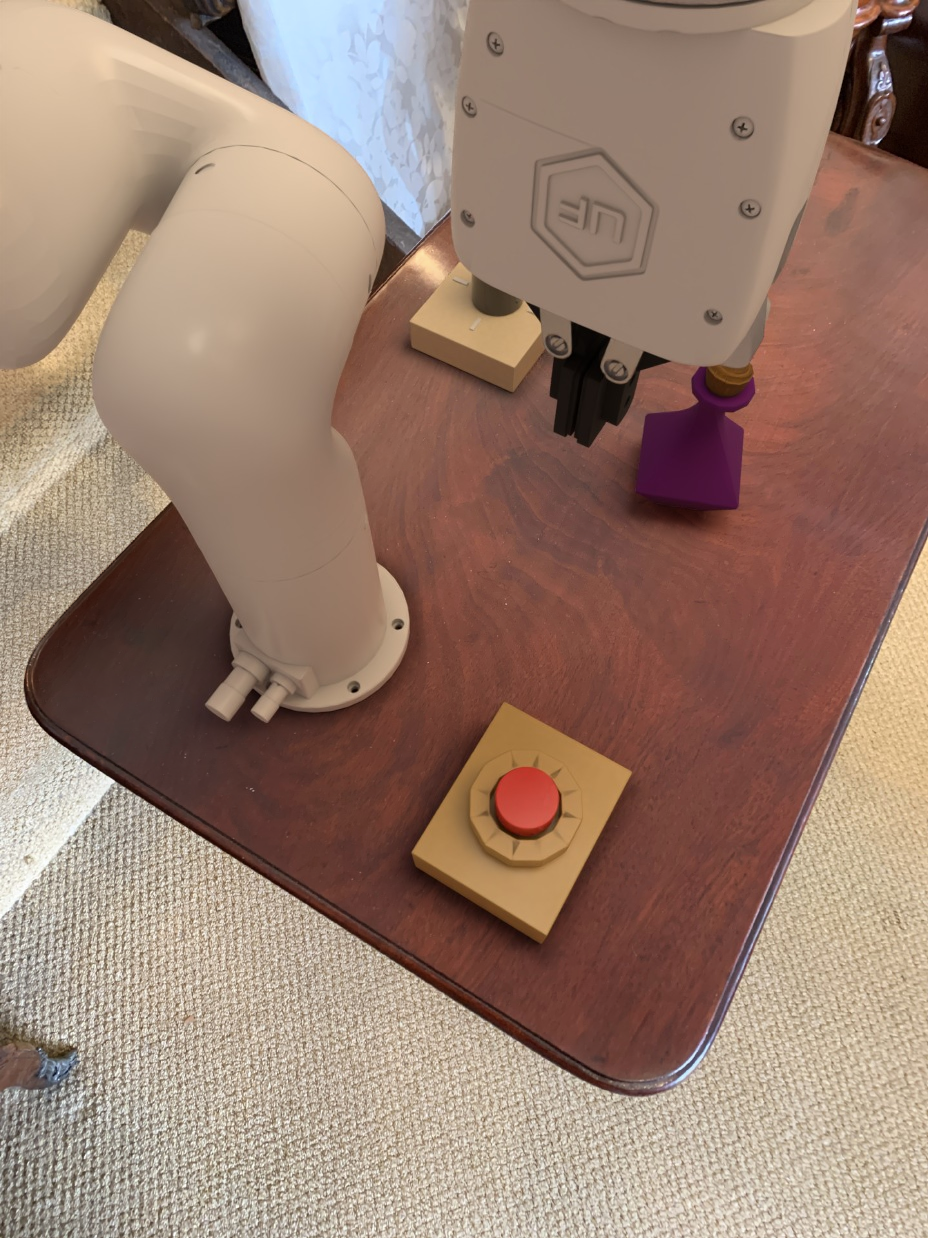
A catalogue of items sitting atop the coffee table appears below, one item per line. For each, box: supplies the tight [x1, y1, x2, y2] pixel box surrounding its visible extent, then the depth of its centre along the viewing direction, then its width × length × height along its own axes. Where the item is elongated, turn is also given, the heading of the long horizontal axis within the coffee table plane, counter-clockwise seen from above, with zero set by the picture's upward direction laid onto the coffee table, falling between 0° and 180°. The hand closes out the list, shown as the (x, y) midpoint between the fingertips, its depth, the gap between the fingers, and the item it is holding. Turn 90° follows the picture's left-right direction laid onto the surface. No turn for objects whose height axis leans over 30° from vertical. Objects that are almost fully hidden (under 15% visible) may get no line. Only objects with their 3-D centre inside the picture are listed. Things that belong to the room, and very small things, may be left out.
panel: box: [408, 261, 546, 393], centre depth 73 cm, size 12×10×3 cm
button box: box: [411, 701, 633, 945], centre depth 52 cm, size 11×9×6 cm
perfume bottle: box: [634, 297, 772, 512], centre depth 58 cm, size 8×8×18 cm
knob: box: [471, 273, 524, 316], centre depth 69 cm, size 4×4×5 cm
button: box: [495, 767, 559, 836], centre depth 49 cm, size 4×4×2 cm
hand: (587, 416), depth 35 cm, fingers closed
